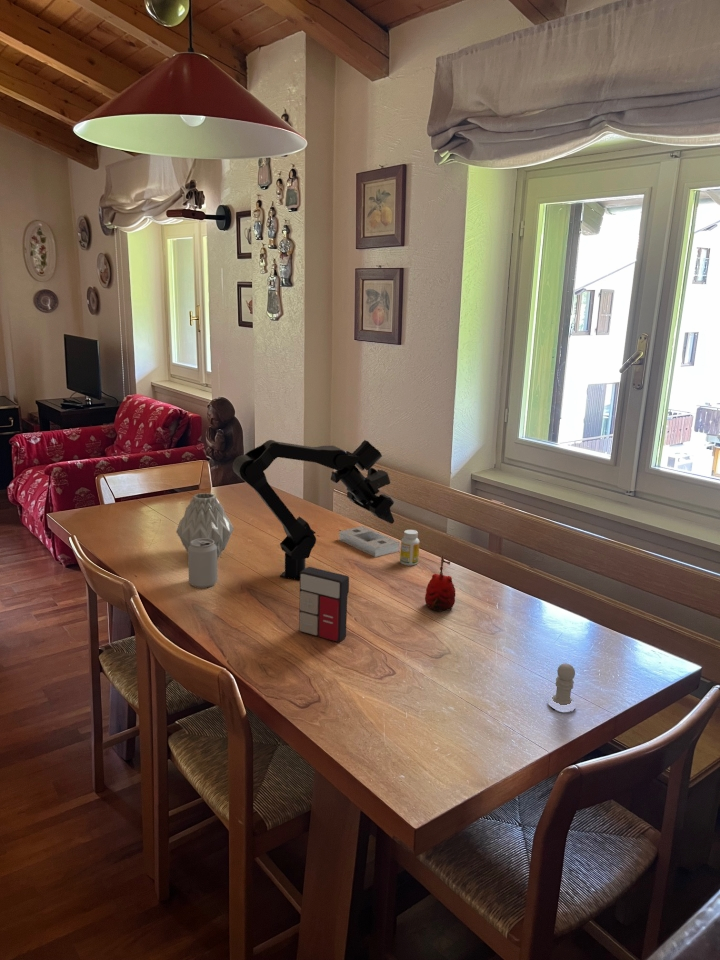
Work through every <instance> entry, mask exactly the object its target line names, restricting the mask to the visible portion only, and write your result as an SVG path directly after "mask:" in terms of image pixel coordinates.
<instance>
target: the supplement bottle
mask: <svg viewBox="0 0 720 960" xmlns="http://www.w3.org/2000/svg"><path fill="white" fill-rule="evenodd" d="M418 536H419V532H418V531H417V530H416V529H406V530H404V532H403V537H402V538H401V541H400V555H399V556H400V557H399V562H400V563H401V564H402V565H404V566H409V567H410V566H416V565H418V564H419V554H420V539H419V538H418Z"/></svg>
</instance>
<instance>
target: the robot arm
mask: <svg viewBox="0 0 720 960" xmlns="http://www.w3.org/2000/svg"><path fill="white" fill-rule="evenodd" d="M382 457H383V455H382V453H381V452H380V450H379V449H377V448H376V447H375V446H373V444H372V443H370V442H369V441H368V440H365V439H364V440H363V441H362V442H361V443H360V444H359V446H358V447H357V448H356V449H355V450H354V451H353V452H350V451H346V450H344V449H341V448H340V447H338V446H336V445H320V446H310V445H309V446H307V445H301V444H295V443H288V442H280V441H275V440H273V439H269V440H266V441H265V442H264V443H263V444H260V445H258V446H257V447H254V448H253V449H251V450H248V451H247V452H246V453H245V454H242V455H241V454H240V455H239V456H237V457H235V459H234V460H233V463H232V467H231V468H232V471H233V472H234V474H236V475H237V477H239V478H240V479H241V480H242V481H244V482H245V483H246V484H247V485H249V486H250V487H251V488H252V489H253V490H254V491H255V493H257V495H258V496H259V498H261V500H262V501H263V502H264V504H265V505H266V507H267V508H268V509H269V510H270V511H271V512H272V514H273V515H274V516H275V517H276V519H277V521H279V522H280V523H281V525H282V528H283V530H284V533H285V535H286V537H285V538H284V539H283V540H282V541H281V542H280V543H279V546H280V549H281V550H282V551H283V552H284V571H283V572H282V573H280V574H279V577H280V578H285V579H288V580H289V579H291V580H294V581H295V580H297V581H300V572H301V571H302V570H304V569H306V559H309V558H310V555H311V552H312V549H313V548H314V547H315V545H316V541H317V537H316V535H315V534H316V531H314V529H312V528H311V525H310V524H309V523H308V521H306V520H305V519H304V518H303V517H301V516H298V517H297V518H296V517H295V516H294V514H293V513H292V512H291V510H290V509H289V508H288V506H286V504H285V503H284V502H283V501H282V499H281V498H280V497H279V495H278V494H277V493H276V491H275V490H274V489H273V488H272V485H270V484H269V482H268V479H267V476H266V474H265V472H264V471H265V470H267V469H268V468H269V467H270V466H271V465H272V464H273V462H274V461H275V460H276V459H277V458H280V459H281V458H282V459H288V460H296V461H303V462H309V463H316V464H319V465H322V466H324V467H327V468H329V469H332V470H335V471H331V475H330V480H331V482H334V483H336V484H338V483H339V482H340V481H341V482H342V484H343V485H344V487H346V491H347V493H346V497H347V499H349V501H350V502H352V503H353V504H355V505H356V506H358V507H360V508H362V509H364V510H366V511H369V512H370V513H371V514H372V515H373V516H374V517H376V518H377V519H380V520H383V521H384V522H387V523H389V524H394V523H395V519H394V516H393V513H392V512H391V511H392V510H391V507H392V506H393V505H394V503H395V501H394V500H393V499H392V497H390V496H389V495H386V494H383V493H382V494H379V492H380V490H379V489H381V488H383V487H385V486H388V485H390V484H391V479H390V476H389V473H388V472H387V471H385V470H382V469H375V468H374V467H373V466H375V464H376V463H377V462H378V461H379V460H380V459H381V458H382ZM360 470H361V471H365V470H366V471H367V474H366V477H365V476H364V475H363V473H362V472H361V471H360ZM377 494H379V496H378V495H377Z"/></svg>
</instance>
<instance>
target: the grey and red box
mask: <svg viewBox="0 0 720 960" xmlns="http://www.w3.org/2000/svg"><path fill="white" fill-rule="evenodd" d="M349 588H350V577H349V575H346V574H341V573H336V572H334V571H328V570H325V569H320V568H315V567H313V566H312V567H311V566H308V567H305V569H304V570H302V571H301V572H300V580H299V604H298V605H299V613H298V616H299V618H298V625H299V626H298V629H299V632H301V633H305V634H308V635H312V636H314V637H319V638H322V639H325V640H329V641H333V642H335V641H336V643H341V642H342V641H343V640H345V638H346V637H347V616H348V612H347V611H348V595H349V591H350V589H349Z"/></svg>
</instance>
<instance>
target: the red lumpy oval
mask: <svg viewBox="0 0 720 960" xmlns="http://www.w3.org/2000/svg"><path fill="white" fill-rule="evenodd" d="M444 563H445V564H447V565H449V566H450V565H451V561H447V560H445V558H444V555H442V556H440V567H439V571H440V572H439V574H438V573H433V574H432V575H431V579H430V580H429V581H428V583H427V586H426V590H425V595H424V601H425V604H426V606H427V607H428V608H430V610H433V611H436V612H437V611H438V612H446V610H447V611H449V609H450V610H451V609H452V608H453V607H454V605H455V602H456V588H455V585H454V583H453V578H452V576H450V575H445V574H444V573H443V570H444V567H443V566H444Z"/></svg>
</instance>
